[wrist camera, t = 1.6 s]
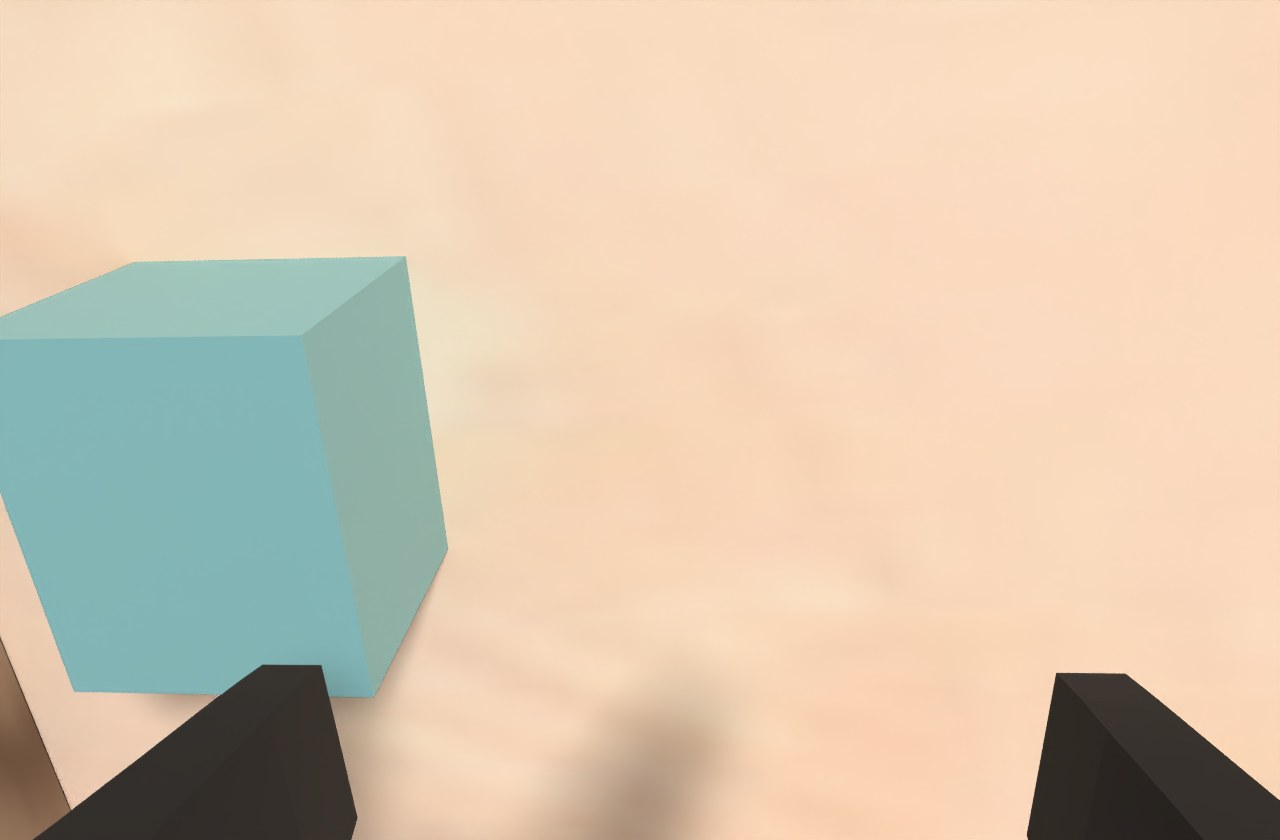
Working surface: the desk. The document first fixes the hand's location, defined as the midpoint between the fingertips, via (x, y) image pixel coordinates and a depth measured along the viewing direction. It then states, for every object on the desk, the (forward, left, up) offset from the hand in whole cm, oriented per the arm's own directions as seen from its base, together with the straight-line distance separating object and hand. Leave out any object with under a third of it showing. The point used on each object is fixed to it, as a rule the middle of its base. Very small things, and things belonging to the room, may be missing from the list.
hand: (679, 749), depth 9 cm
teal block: (0, +8, -9) cm, 11 cm away
